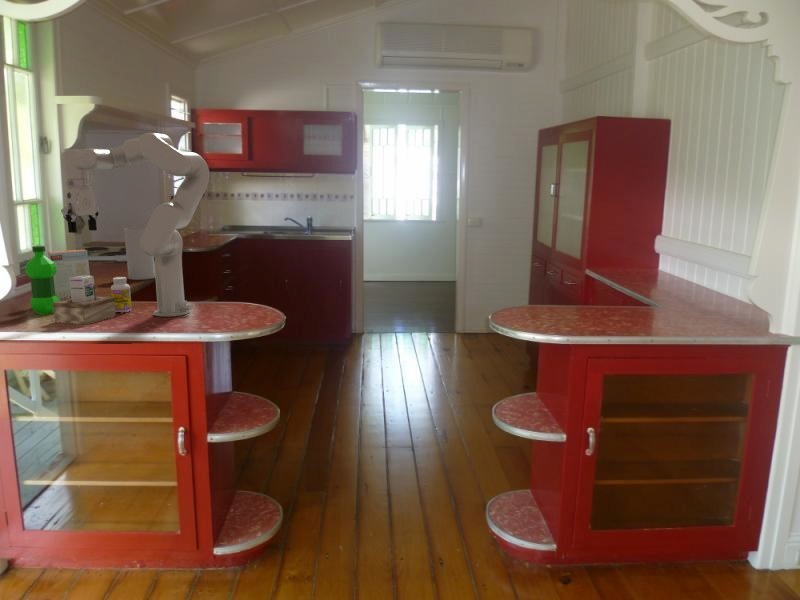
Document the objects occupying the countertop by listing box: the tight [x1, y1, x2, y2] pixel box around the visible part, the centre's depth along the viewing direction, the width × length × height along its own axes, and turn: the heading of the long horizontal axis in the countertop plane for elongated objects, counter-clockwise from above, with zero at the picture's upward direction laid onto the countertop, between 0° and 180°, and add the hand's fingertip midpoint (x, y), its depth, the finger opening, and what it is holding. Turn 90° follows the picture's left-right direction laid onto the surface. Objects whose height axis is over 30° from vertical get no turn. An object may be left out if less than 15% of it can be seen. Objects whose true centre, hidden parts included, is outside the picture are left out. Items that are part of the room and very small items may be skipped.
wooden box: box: [53, 296, 116, 325], centre depth 245 cm, size 14×14×7 cm
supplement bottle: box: [110, 276, 132, 313], centre depth 257 cm, size 7×7×13 cm
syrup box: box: [69, 274, 97, 303], centre depth 244 cm, size 6×6×14 cm
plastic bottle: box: [24, 245, 59, 315], centre depth 256 cm, size 10×10×25 cm
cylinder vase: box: [123, 226, 155, 281], centre depth 339 cm, size 12×12×25 cm
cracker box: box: [47, 249, 91, 301], centre depth 279 cm, size 14×6×21 cm, turn 126°
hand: (83, 231), depth 253 cm, fingers open, 9 cm apart
